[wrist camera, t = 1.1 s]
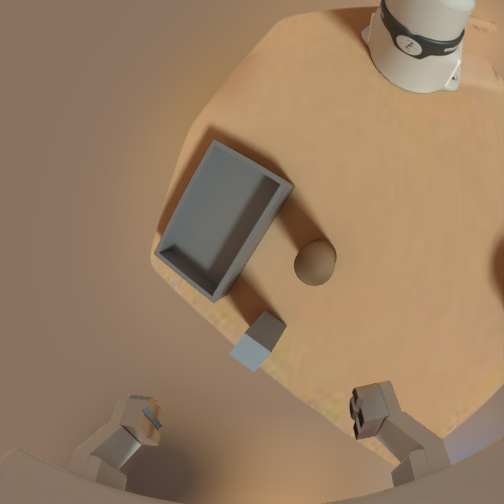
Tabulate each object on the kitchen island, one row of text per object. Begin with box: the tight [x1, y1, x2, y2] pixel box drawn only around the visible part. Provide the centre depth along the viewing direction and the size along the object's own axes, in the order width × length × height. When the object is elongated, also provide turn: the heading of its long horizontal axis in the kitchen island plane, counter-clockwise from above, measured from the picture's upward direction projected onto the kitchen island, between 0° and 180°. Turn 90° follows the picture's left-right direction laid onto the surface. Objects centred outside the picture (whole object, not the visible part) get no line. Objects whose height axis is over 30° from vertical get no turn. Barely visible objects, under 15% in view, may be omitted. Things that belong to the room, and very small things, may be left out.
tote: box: [154, 139, 295, 303], centre depth 45 cm, size 22×14×5 cm, turn 148°
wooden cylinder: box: [294, 240, 336, 286], centre depth 38 cm, size 5×5×9 cm
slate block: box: [229, 310, 286, 372], centre depth 42 cm, size 4×4×10 cm
